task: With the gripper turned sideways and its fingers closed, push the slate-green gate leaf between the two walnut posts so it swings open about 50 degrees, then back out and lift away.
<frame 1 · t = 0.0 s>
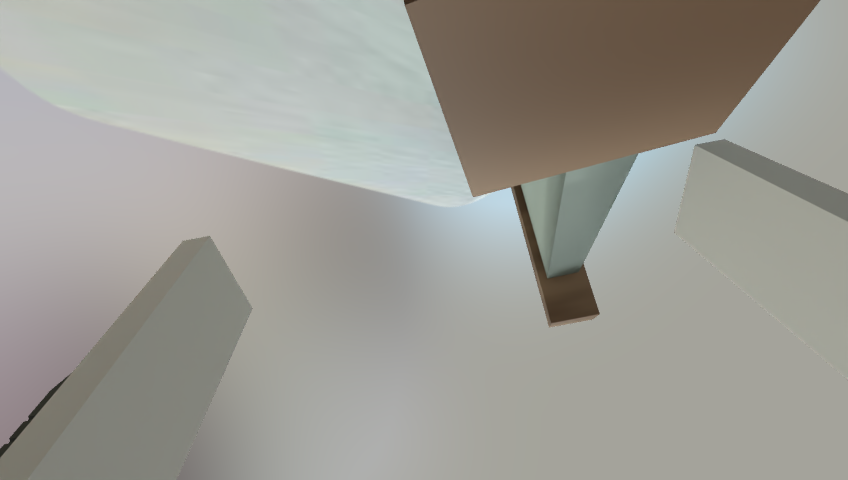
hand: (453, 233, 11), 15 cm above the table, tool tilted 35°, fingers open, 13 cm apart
gate: (541, 105, 18), point 8 cm above the table, hinge at 0.0°
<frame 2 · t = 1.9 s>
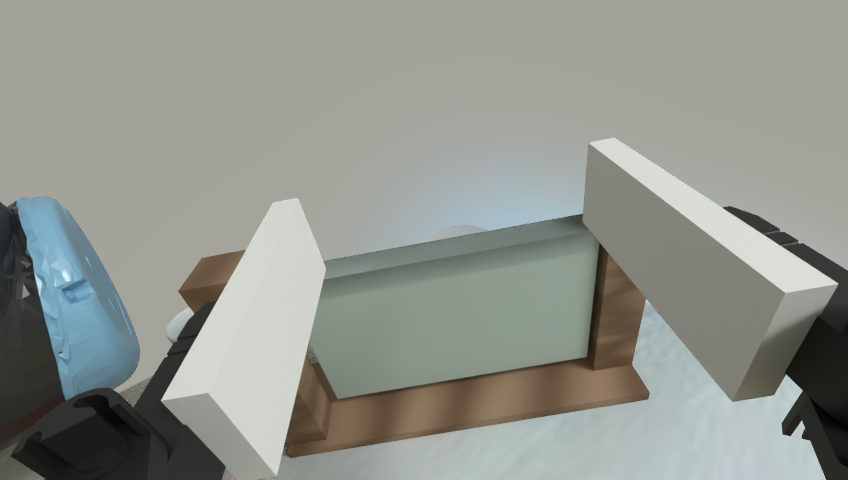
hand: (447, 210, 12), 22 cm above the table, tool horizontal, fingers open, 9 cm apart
gate frame: (341, 402, 32), on the table
gate: (449, 315, 27), point 8 cm above the table, hinge at 0.0°
supplement bottle: (248, 394, 35), on the table
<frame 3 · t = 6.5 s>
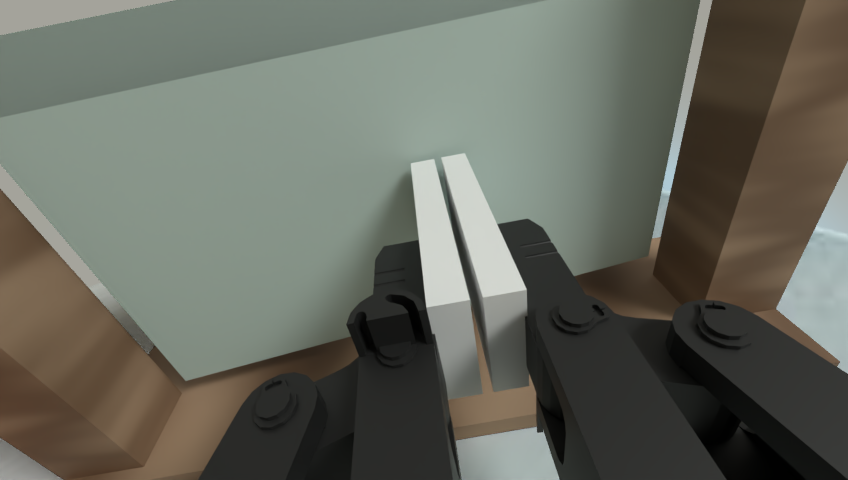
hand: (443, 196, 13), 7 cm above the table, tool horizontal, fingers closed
gate frame: (207, 391, 17), on the table
gate: (393, 176, 13), point 8 cm above the table, hinge at 6.9°, touching gripper
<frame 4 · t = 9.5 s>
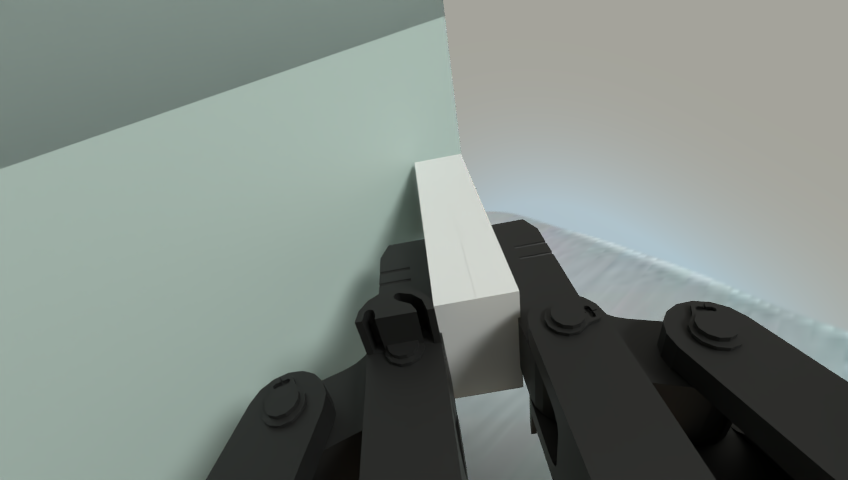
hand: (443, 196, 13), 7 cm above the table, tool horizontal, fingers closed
gate: (230, 318, 8), point 8 cm above the table, hinge at 56.3°, touching gripper
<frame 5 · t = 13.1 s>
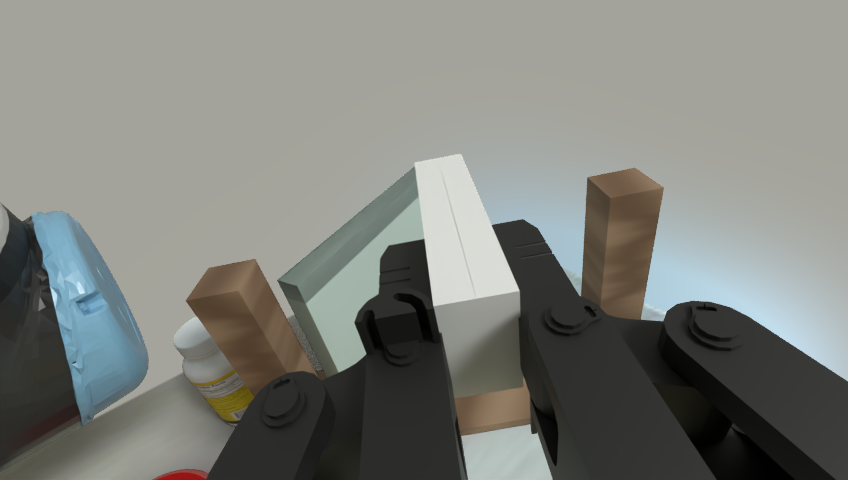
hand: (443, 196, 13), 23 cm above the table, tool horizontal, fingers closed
gate frame: (345, 409, 32), on the table
gate: (389, 264, 35), point 8 cm above the table, hinge at 56.4°
supplement bottle: (253, 402, 35), on the table
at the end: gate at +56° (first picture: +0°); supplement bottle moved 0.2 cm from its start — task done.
